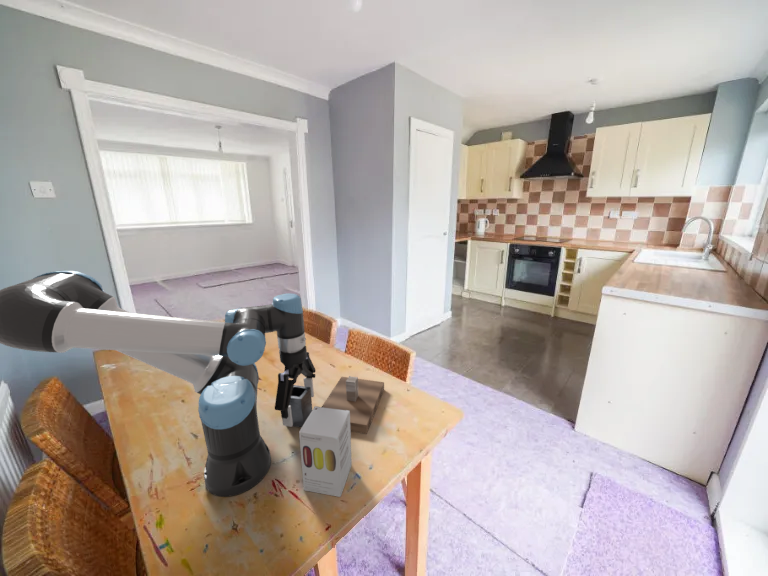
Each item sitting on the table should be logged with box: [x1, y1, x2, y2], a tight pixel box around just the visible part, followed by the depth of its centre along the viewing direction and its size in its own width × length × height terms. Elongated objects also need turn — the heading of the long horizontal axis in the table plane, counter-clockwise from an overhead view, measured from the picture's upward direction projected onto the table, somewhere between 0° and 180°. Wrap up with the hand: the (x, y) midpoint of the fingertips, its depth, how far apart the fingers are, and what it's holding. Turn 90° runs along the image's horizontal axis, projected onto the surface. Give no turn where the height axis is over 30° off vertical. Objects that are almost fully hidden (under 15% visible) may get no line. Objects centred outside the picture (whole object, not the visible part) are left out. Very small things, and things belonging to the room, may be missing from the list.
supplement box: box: [298, 405, 353, 498], centre depth 73 cm, size 10×9×17 cm
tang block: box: [321, 375, 385, 435], centre depth 100 cm, size 22×16×10 cm
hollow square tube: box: [289, 384, 313, 429], centre depth 94 cm, size 6×6×10 cm
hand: (299, 409), depth 94 cm, fingers open, 13 cm apart
